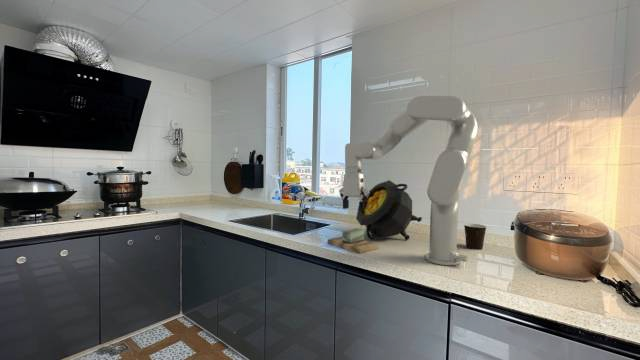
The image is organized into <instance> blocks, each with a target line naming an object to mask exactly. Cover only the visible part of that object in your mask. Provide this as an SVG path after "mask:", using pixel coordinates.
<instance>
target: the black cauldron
mask: <svg viewBox="0 0 640 360" xmlns="http://www.w3.org/2000/svg"><path fill="white" fill-rule="evenodd" d="M400 187H401V188H400ZM407 189H408V184H406V183H398V184H396V183H395V182H393V181H391V180H389V179H388V180H386V181H383V182H380V183H377V184H375V185H374V186H373V187H372V188H370V190H368V191H369V192H370V194H369V196H368V198H367V200H366V201H365V210H364V211H359V206H358V208H357V213H356V219H355V220H357V222H358V223H359V224H360V226H365V228H366V229H365V231H366V236H367V238H368V239H369V240H375V237H377V238H387V237H390V238H391V237H393V236H394V237H395V236H398V235H401V236H402V237H403V238H404V240H405V241H408V240H410V235H408V234H407V232H406V230H407V228H408V227H409V225H410V223H411V222H412V221H417V222H418V223H420V222H422V219H423V217H422V216H420V217H417V216H416V215H414V214H413V200H412V198H411V195H409V193H407V192H406V191H405V190H407ZM370 234H371V235H370Z"/></svg>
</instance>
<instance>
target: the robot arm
mask: <svg viewBox="0 0 640 360" xmlns="http://www.w3.org/2000/svg"><path fill="white" fill-rule="evenodd" d="M428 121H444V122H445V123H447V124H448V125H450V127H451V131H450V134H449V136H448V139H447V140H448V141H447V145H446V147H445V149H444V151H442V152H441V153H440V154H439V155H438V157H437V159H436V161H435V163H434V168H433V170H432V173H431V177H430V179H429V182H428V186H427V191H426V192H427V197H428V198H429V200H430V214H429V215H430V219H429V220H430V221H429V253H426V254H425V256H424V259H425V260H426V261H427V262H429V263H432V264H434V265H435V264H437V265H441V266H457V265H460V264H461V263H462V262H463V263H467V262H468V260H469V258H468V256H467V255H466V254H462V253H460V249H458V248H457V246H458V218H459V201H460V185H461V182H462V179H463V176H464V174H465V171H466V170H467V167H468V164H469V159H470V157H471V156H470V155H471V154H472V153H471V152H472V150H473V147H474V144H475V141H476V138H477V133H478V122H477V119H476V116H475V115H474V113H473V112H472V111H471V110H470V109H469V108H468V107H467V105H466V103H465V101H464V100H463V99H462V98H461V97H457V96H452V95H418V96H417V95H416V96H414V97H413V98H411V99H410V100H409V102H408V103H407V105H406V110H405V111H403V112H402V113H400V115H398V116H397V117H395V118H394V119H393V120H391V121H390V123H389V125H388V128H387V131H386V132H385V133H384V134H383V135H382V136H381V137H380V138H379V139H377V140H376V141H362V142H349V143H346V144H345V146H344V169H345V170H344V176H343V182H342V188H340V189H339V190H338V193H339V196H340V198H341V200H342V209H344V210H347V209H349V207H350V206H349V205H350V203H349V202H350V200H349V197H352V198H353V197H354V198H358V200H359V202H358V207H359V211H364V210H365V201H366V200H367V198H368V196H369V194H370V192H369V191H370V190H368V189H367V188H366V178H365V175H364V173H363V172H364V168H363V160H374V161H375V160H379V159H381V158H382V157H384V156H385V155H386V154H388V153H389V152H391V151H392V150H394V149H395V148H396V147H397V146H398V145H399V144H400V143H401V142H402V141H403V139H405V138H406V137H408V136H409V135H410V134H412V133H413V132H414V131H416V130H417V129H419V128H420V127H421V126H423V125H425V124H426V123H427V122H428Z"/></svg>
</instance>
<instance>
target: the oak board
mask: <svg viewBox="0 0 640 360" xmlns="http://www.w3.org/2000/svg"><path fill="white" fill-rule="evenodd" d="M327 245H330V246H334V247H336V248H340V249H344V250H347V251H351V252H354V253H357V254H360V255H362V254H365V253H368V252H372V251H375V250H378V248H379V247H380V246H379V245H380V244H379V243H377V242H372V241H368V240H365V239H364V241H362V242H358V243H354V244H348V243H344V242H342V235H340V236H338V237H332V238H327Z"/></svg>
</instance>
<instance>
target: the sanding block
mask: <svg viewBox="0 0 640 360" xmlns="http://www.w3.org/2000/svg"><path fill="white" fill-rule="evenodd" d="M341 232H342V233H341V234H342V235H341V236H342V242H344V243H348V244H354V243H358V242H362V241H364V240H365V229H361V228H357V227H356V228H350V229H345V230H342V231H341Z"/></svg>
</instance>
